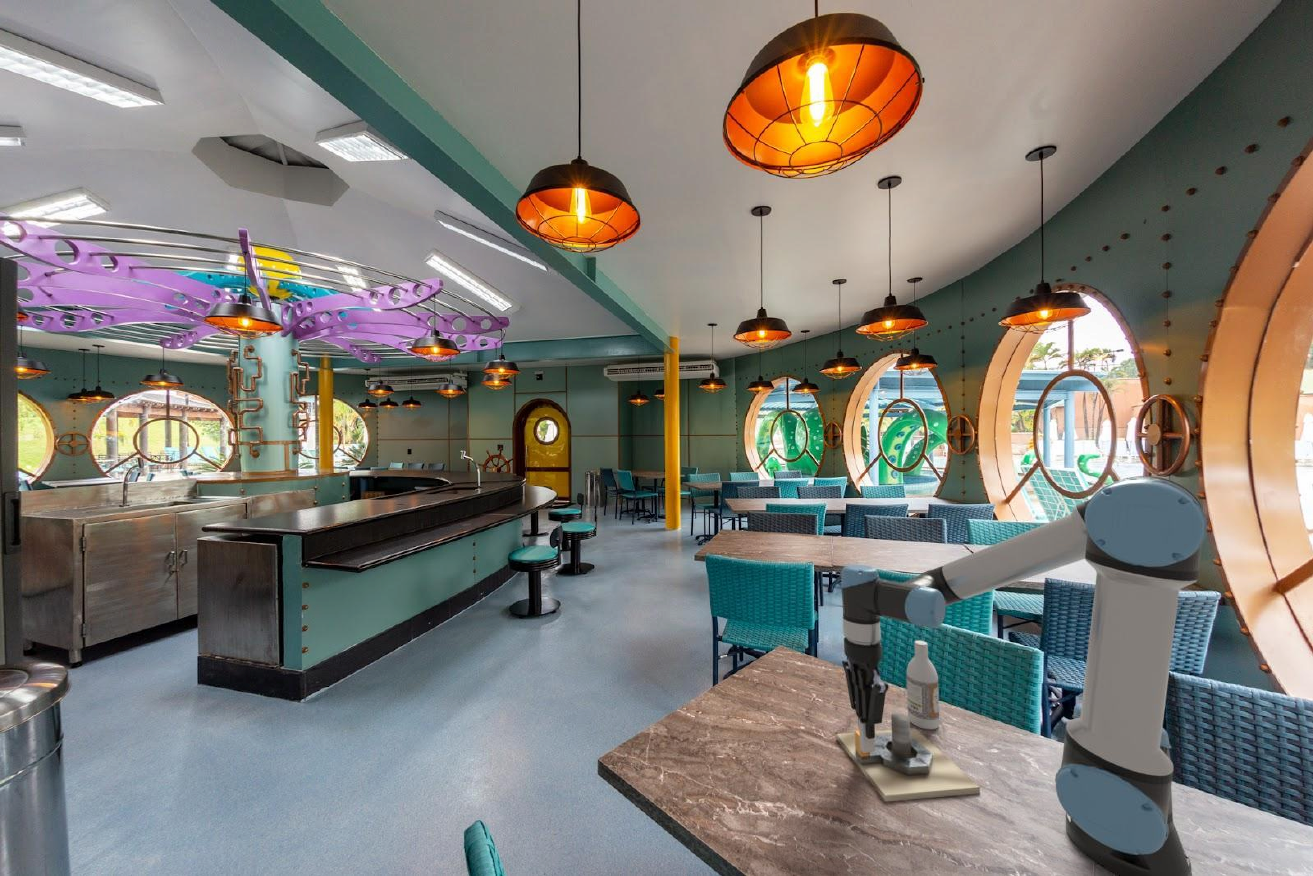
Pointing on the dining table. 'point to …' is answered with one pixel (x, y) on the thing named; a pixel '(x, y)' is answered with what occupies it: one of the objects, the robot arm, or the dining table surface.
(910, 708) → the bath foam
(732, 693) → the dining table surface
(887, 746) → the flange
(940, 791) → the post base
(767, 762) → the dining table surface
